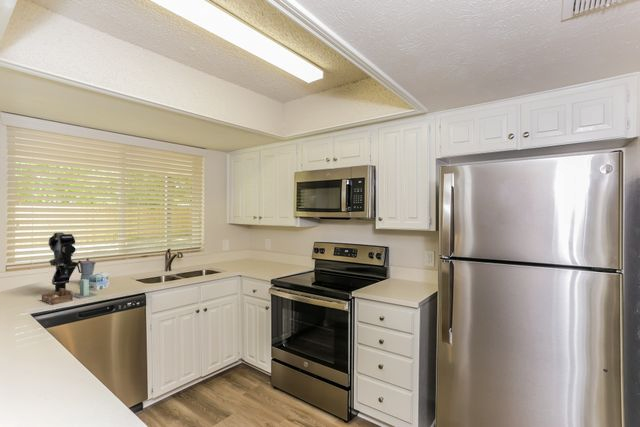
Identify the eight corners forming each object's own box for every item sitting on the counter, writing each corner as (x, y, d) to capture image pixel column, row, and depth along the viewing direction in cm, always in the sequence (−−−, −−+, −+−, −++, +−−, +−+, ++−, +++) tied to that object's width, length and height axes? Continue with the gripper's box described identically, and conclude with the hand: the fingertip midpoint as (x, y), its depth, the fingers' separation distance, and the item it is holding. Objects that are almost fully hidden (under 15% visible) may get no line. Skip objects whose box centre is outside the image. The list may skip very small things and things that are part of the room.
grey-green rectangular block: (79, 294, 217) (79, 279, 217) (84, 293, 220) (84, 279, 220) (83, 295, 215) (83, 280, 214) (88, 294, 217) (88, 279, 217)
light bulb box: (96, 290, 231) (96, 275, 231) (89, 290, 232) (88, 275, 232) (109, 287, 241) (109, 272, 241) (101, 286, 243) (101, 272, 243)
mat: (71, 295, 216) (71, 295, 216) (88, 292, 225) (88, 292, 225) (79, 298, 210) (79, 297, 210) (97, 295, 218) (97, 294, 218)
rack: (41, 300, 204) (41, 291, 204) (61, 297, 213) (61, 288, 213) (52, 304, 196) (52, 294, 196) (72, 300, 205) (72, 291, 205)
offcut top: (51, 297, 205) (53, 294, 206) (55, 299, 207) (58, 296, 208) (53, 297, 200) (55, 294, 201) (58, 299, 202) (60, 296, 203)
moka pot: (91, 285, 245) (91, 259, 245) (71, 285, 245) (71, 259, 245) (100, 283, 254) (100, 257, 254) (80, 282, 255) (80, 257, 254)
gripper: (45, 253, 214) (45, 277, 214) (57, 255, 204) (57, 280, 204) (65, 251, 223) (65, 274, 223) (77, 253, 213) (77, 277, 214)
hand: (65, 276), depth 216 cm, fingers open, 9 cm apart
